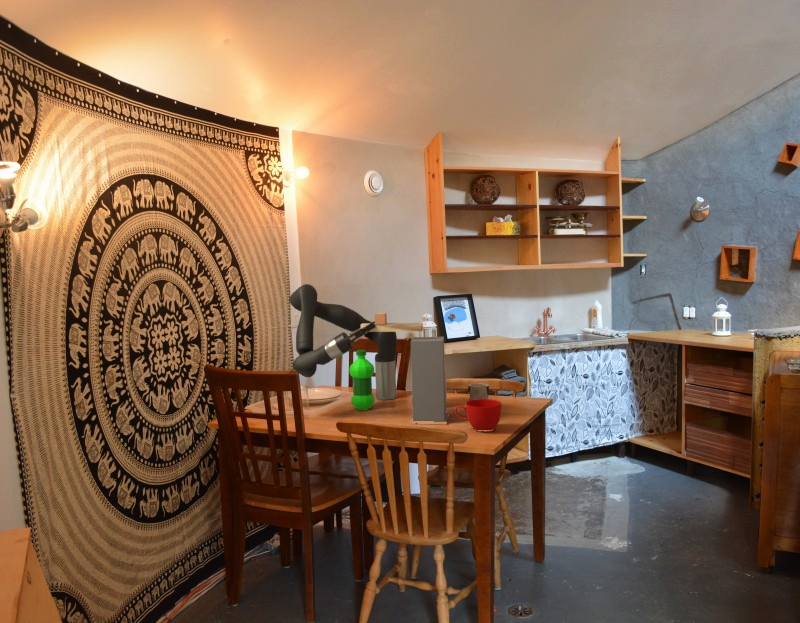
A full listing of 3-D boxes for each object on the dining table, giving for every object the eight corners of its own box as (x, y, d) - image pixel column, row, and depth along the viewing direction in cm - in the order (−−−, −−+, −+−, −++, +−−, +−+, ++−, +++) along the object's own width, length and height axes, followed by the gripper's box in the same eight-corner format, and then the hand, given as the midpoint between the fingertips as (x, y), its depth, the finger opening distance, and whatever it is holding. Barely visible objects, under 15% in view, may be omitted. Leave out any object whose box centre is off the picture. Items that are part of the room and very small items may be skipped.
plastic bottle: (355, 412, 261) (353, 353, 259) (348, 407, 270) (346, 350, 268) (378, 409, 264) (376, 351, 262) (370, 404, 274) (368, 348, 272)
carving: (487, 416, 248) (487, 386, 247) (468, 416, 249) (468, 386, 248) (488, 412, 254) (487, 383, 253) (469, 412, 255) (469, 383, 254)
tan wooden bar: (362, 330, 248) (362, 323, 248) (422, 330, 245) (422, 322, 244) (360, 332, 244) (360, 324, 244) (422, 331, 241) (421, 323, 241)
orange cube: (376, 323, 247) (376, 313, 247) (386, 323, 247) (386, 312, 246) (375, 324, 243) (374, 314, 243) (385, 324, 243) (384, 313, 242)
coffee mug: (491, 410, 256) (490, 386, 256) (470, 411, 256) (469, 387, 256) (486, 404, 268) (486, 381, 267) (466, 405, 268) (466, 382, 267)
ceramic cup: (456, 424, 237) (456, 398, 237) (502, 425, 235) (501, 399, 234) (454, 434, 225) (453, 407, 224) (501, 435, 222) (501, 407, 221)
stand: (414, 415, 254) (411, 336, 251) (448, 415, 252) (446, 336, 249) (410, 424, 240) (407, 341, 237) (446, 424, 238) (444, 341, 235)
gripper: (329, 340, 241) (367, 317, 238) (337, 335, 255) (373, 313, 252) (339, 356, 241) (377, 334, 238) (347, 351, 255) (383, 329, 252)
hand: (375, 323), depth 245 cm, fingers closed on tan wooden bar, 3 cm apart
